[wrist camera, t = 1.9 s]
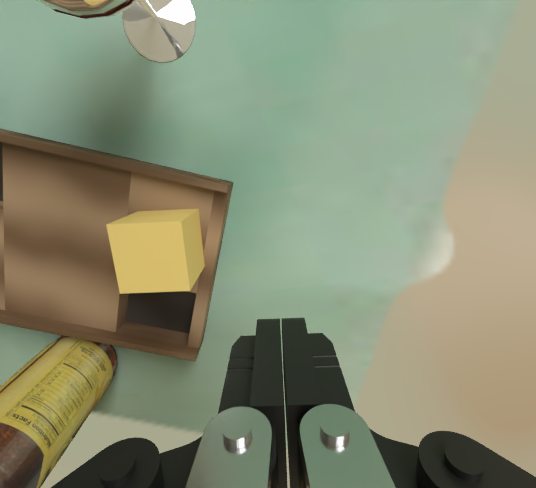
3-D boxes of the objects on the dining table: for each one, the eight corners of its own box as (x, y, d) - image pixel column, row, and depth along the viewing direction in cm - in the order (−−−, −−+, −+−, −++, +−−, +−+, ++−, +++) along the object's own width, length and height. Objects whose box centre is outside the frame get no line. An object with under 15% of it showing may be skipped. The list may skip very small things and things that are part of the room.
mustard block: (137, 211, 22) (106, 224, 18) (198, 208, 22) (181, 221, 18) (147, 268, 24) (119, 293, 19) (204, 266, 24) (190, 290, 19)
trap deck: (-143, 95, 22) (-243, 81, 18) (233, 182, 24) (224, 188, 19) (-118, 275, 26) (-195, 299, 22) (203, 339, 28) (190, 373, 23)
